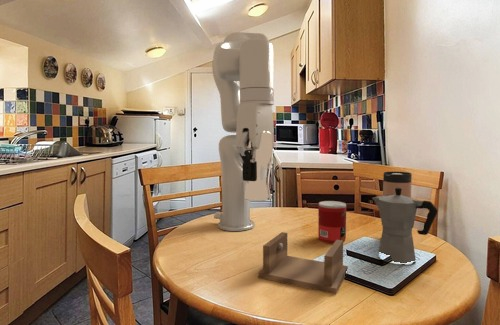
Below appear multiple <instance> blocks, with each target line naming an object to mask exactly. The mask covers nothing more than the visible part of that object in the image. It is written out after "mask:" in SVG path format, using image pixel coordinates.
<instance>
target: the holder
mask: <svg viewBox="0 0 500 325" xmlns="http://www.w3.org/2000/svg"><path fill="white" fill-rule="evenodd" d="M323 258H324V260H323V261H319V260H314V259H308V258H303V257H297V256H291V255H288V232H285V231H282V232H280V233H278V234H277V235H275V237H273V238H272V239H270V240H269V241H267V242H266V243H265V244H263V246H262V269H260V270H259V271H258V272H257V278H259V279H263V280H267V281H271V282H277V283H281V284H286V285H291V286H296V287H300V288H303V289H304V288H305V289H309V290H314V291H319V292H323V293H328V294H333V295H337V294H338V291H339V290H340V288H341V285H342V283H343V282H344V280H345V278H346V276H345V273H346V271H347V269H348V270H349V266H347V265H344V242H343V240H336V241H335V242H334V243H332V244H331V246H330V248H329V249H328V250H327V252H326V253H325V254H324V257H323Z"/></svg>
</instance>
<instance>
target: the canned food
mask: <svg viewBox="0 0 500 325" xmlns="http://www.w3.org/2000/svg"><path fill="white" fill-rule="evenodd" d="M317 217H318V228H317V230H318V232H317V233H318V240H320V241H322V242H324V243H327V244H334V242H335V241H336V240H343V243H344V242H345V241H346V239H347V204H346V202H344V201H343V202H342V201H335V200H324V201H319V202H318V215H317Z"/></svg>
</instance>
